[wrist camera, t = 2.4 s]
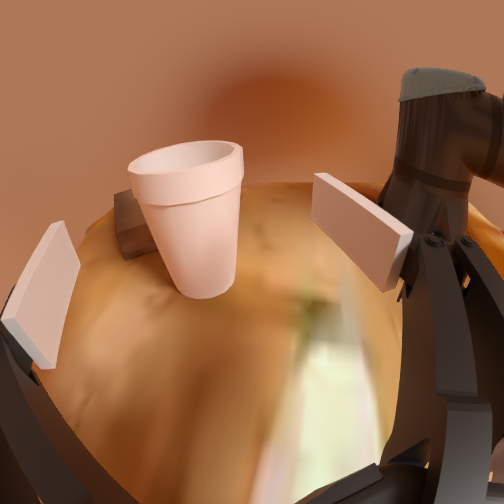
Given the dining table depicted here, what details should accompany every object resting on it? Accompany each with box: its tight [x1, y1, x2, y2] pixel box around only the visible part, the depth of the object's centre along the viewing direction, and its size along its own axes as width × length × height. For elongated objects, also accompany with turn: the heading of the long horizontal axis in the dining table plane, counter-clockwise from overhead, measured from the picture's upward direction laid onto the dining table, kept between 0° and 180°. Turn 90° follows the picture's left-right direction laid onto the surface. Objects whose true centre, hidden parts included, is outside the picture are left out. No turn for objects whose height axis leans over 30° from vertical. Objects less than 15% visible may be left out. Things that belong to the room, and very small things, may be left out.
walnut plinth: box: [114, 189, 158, 260], centre depth 37 cm, size 14×14×4 cm
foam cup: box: [128, 141, 244, 299], centre depth 24 cm, size 10×9×13 cm
